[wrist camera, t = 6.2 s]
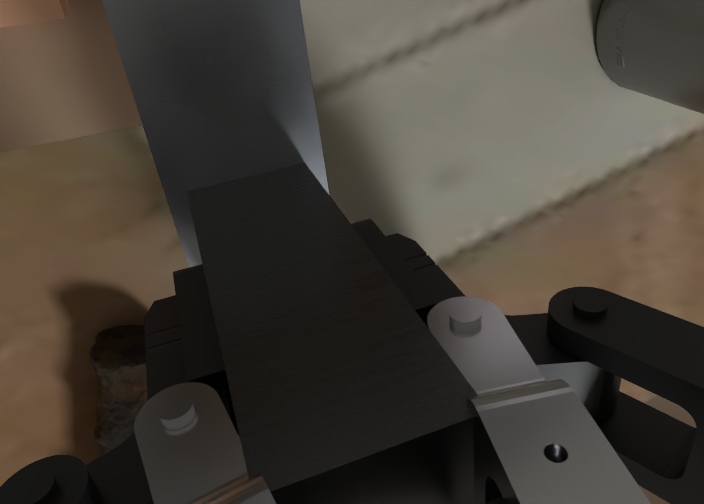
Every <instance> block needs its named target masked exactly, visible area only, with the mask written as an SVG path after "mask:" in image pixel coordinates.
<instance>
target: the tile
mask: <svg viewBox="0 0 704 504" xmlns="http://www.w3.org/2000/svg"><path fill="white" fill-rule="evenodd" d="M70 11H71V9H70V6H69V3H68V0H0V28H1V27H8V26H15V25H22V24H29V23H36V22H43V21H50V20H57V19H64V18H66V17H67V15H68V14H69V12H70Z"/></svg>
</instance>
